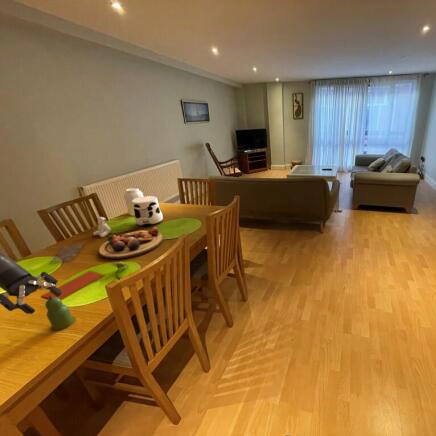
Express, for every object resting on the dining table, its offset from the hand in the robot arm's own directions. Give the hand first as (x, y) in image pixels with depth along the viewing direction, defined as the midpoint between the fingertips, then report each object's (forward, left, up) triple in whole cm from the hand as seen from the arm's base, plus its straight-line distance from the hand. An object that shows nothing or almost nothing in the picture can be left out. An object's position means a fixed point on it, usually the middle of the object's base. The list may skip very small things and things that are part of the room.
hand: (47, 303), depth 85 cm
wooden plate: (+52, +27, -9) cm, 60 cm away
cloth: (+16, +18, -9) cm, 26 cm away
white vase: (+93, +72, -9) cm, 118 cm away
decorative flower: (+30, +5, -9) cm, 32 cm away
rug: (+33, +53, -9) cm, 63 cm away
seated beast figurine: (+57, +59, -9) cm, 83 cm away
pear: (0, -3, -9) cm, 10 cm away
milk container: (+81, +46, -9) cm, 94 cm away
